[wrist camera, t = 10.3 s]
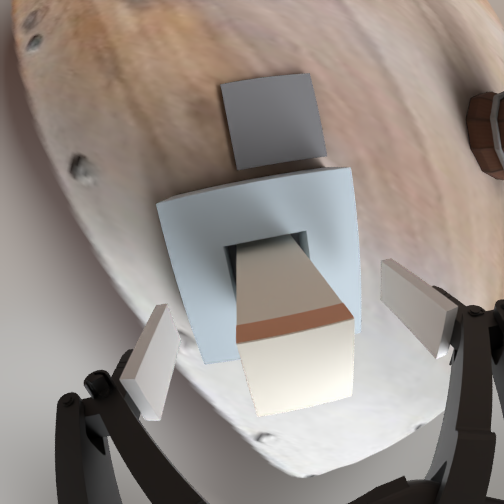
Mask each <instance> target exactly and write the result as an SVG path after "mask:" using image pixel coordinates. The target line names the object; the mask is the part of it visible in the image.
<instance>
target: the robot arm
mask: <svg viewBox="0 0 504 504" xmlns="http://www.w3.org/2000/svg"><path fill="white" fill-rule="evenodd" d="M381 301H382V302H383V303H384V304H385V305H386V306H387V307H388V308H389V309H390V310H391V311H392V312H393V313H394V314H395V315H396V316H397V317H398V318H399V319H400V320H401V321H402V322H403V323H404V325H405V326H406V327H407V328H408V329H409V330H410V331H411V332H412V333H413V334H414V335H415V336H416V337H417V339H418V340H419V341H420V342H421V343H422V344H423V345H424V346H425V347H426V348H427V350H428V351H429V352H430V353H431V354H432V355H433V356H434V357H435V359H438V358H440V357H442V356H444V355H446V354H447V353H448V350H449V346H450V344H451V345H452V346H453V347H454V351H453V354H452V357H451V361H450V364H449V365H451V364H452V366H451V375H450V383H449V390H448V396H447V402H446V408H445V413H444V418H443V423H442V427H441V431H440V436H439V440H438V443H437V447H436V451H435V454H434V458H433V461H432V464H431V467H430V469H429V471H428V473H427V475H426V477H425V479H424V480H410V481H406V478H405V476H403V477H400V478H398V479H396V480H393V481H391V482H389V483H386V484H383V485H381V486H378V487H376V488H374V489H373V490H371V491H369V492H368V493H366V494H364V495H363V496H361V497H359V498H357V499H356V500H354V501H352V502H350V503H348V504H504V500H500V499H495V498H491V497H486V494H487V489H488V485H489V481H490V476H491V471H492V465H493V459H494V452H495V444H496V434H495V433H494V432H493V433H492V432H491V417H492V375H493V378H494V382H495V385H496V389H497V392H498V396H499V400H500V404H501V408H502V413H503V418H504V300H498V301H497V302H496V304H495V307H494V310H490V311H485V310H484V309H483V308H482V307H479V306H476V305H469V306H467V307H466V306H465V305H464V304H462V303H461V302H460V301H458V300H457V299H456V298H454V297H452V296H451V295H450V294H449V293H447V292H446V291H444V290H443V289H442V288H439V287H436V286H430V285H429V284H427V283H426V282H425V281H423V280H422V279H420V278H419V277H418V276H416V275H415V274H413V273H412V272H410V271H409V270H408V269H406V268H405V267H403V266H402V265H400V264H399V263H397V262H396V261H394V260H393V259H386V260H382V261H381ZM180 344H181V339H180V336H179V333H178V331H177V328H176V325H175V323H174V320H173V317H172V314H171V312H170V309H169V306H168V304H162V305H156V307H155V309H154V310H153V312H152V314H151V316H150V318H149V320H148V322H147V324H146V326H145V328H144V330H143V332H142V334H141V336H140V338H139V340H138V342H137V344H136V346H135V348H134V349H131V350H128V351H127V352H125V354H124V355H122V357H121V359H120V361H119V363H118V365H117V367H116V369H115V371H114V373H113V375H112V377H110V375H109V373H108V372H107V371H104V370H97V371H95V372H93V373H91V374H89V375H88V376H87V377H86V378H85V380H84V386H85V388H86V390H87V391H88V393H89V394H90V395H91V397H90V398H86V399H81V398H80V397H79V396H78V394H76V393H73V392H71V393H67V394H65V395H63V396H62V397H61V398H60V399H59V401H58V404H57V413H56V431H55V471H56V487H57V496H58V504H122V501H121V498H120V494H119V490H118V486H117V483H116V479H115V475H114V470H113V466H112V461H111V456H110V451H109V445H108V439H107V436H111V438H112V440H113V442H114V444H115V446H116V448H117V449H118V451H119V453H120V455H121V457H122V458H123V460H124V462H125V463H126V465H127V467H128V468H129V470H130V472H131V473H132V475H133V477H134V478H135V480H136V481H137V483H138V484H139V485H140V487H141V489H142V490H143V492H144V493H145V494H146V496H147V497H148V499H149V500H150V501H151V503H152V504H209V503H208V502H207V501H206V500H205V499H204V498H203V497H202V496H201V495H200V494H199V493H198V492H197V491H196V490H195V489H194V487H193V486H192V485H191V484H190V483H189V482H188V481H187V480H186V479H185V478H184V477H183V475H182V474H181V473H180V472H179V471H178V470H177V469H176V468H175V466H174V465H173V464H172V463H171V462H170V461H169V459H168V458H167V457H166V455H165V454H164V453H163V452H162V451H161V449H160V448H159V447H158V445H157V444H156V443H155V441H154V440H153V439H152V437H151V436H150V435H149V433H148V432H147V431H146V429H145V428H144V427H143V425H142V424H141V422H140V421H139V417H140V413H141V414H142V416H143V417H144V419H145V420H146V421H160V420H161V416H162V412H163V408H164V404H165V400H166V396H167V392H168V388H169V384H170V380H171V376H172V373H173V369H174V365H175V362H176V358H177V354H178V351H179V347H180Z"/></svg>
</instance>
